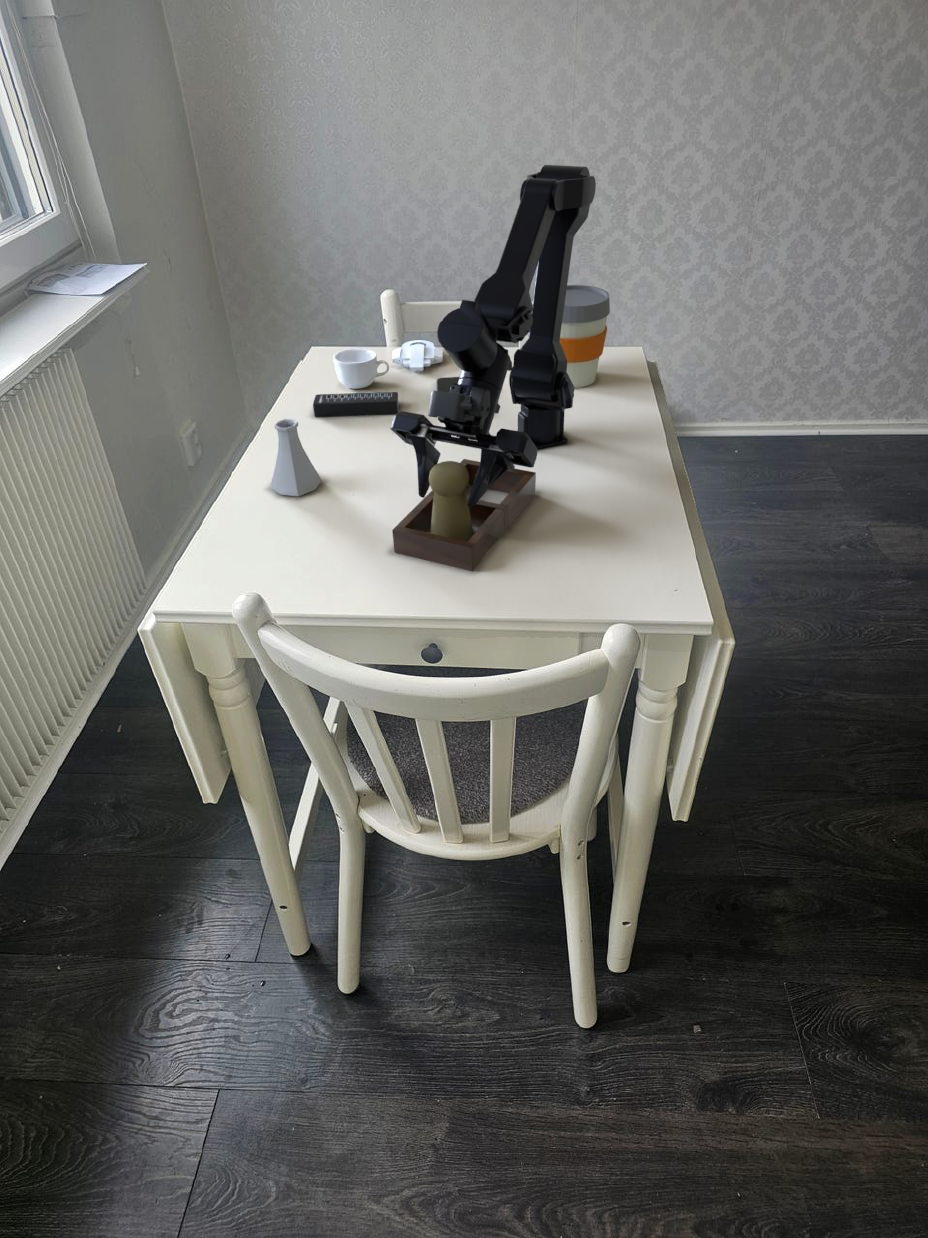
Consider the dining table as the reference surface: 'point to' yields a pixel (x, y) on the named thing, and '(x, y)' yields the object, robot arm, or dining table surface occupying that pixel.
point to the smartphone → (446, 383)
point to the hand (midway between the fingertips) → (445, 501)
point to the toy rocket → (417, 355)
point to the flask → (292, 463)
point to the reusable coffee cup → (584, 331)
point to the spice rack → (483, 514)
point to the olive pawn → (450, 501)
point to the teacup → (357, 367)
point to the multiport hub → (356, 404)
